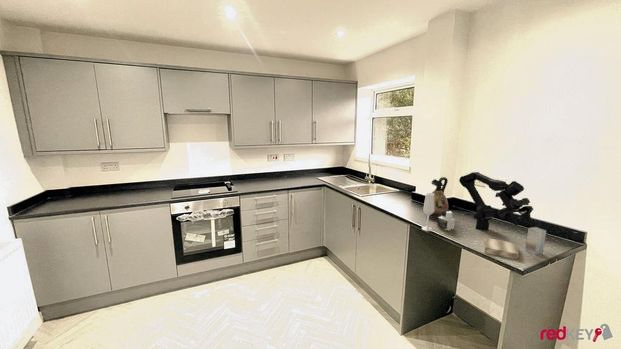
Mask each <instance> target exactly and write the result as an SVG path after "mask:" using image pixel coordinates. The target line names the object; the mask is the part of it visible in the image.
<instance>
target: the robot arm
mask: <svg viewBox="0 0 621 349" xmlns="http://www.w3.org/2000/svg"><path fill="white" fill-rule="evenodd" d="M458 181H459V184H460V185H461V186H462V187H463V188H464V189H466V190H467V192H468V193H469V195H470V197H471V199H472V200H473V202H474V204H475V206H476V213H475V214H474V215H473V218H474V220H476V224H475V230H480V231H481V230H482V231H488V230H489V228H490V221H492V219H493V218H494V217H495V216H494V215H495V212H494V209H493V207H492V206H491V205H487V204H486V203H485V201H484V200H483V198H482V197H481V195H480V193H479V191H478V190H477V187H476V186H475V185H476V184H475V183H476V181H478V182H480V183H483V184H485V185H487V187H488V188H490V190H492V191H494V192H496V193H495V197H494V198H499V199H500V200H501V202H502V204H501V205H502V206H504V207H502V208H501V209H499V210H497V215H498V217H501V218H503V219H505V220H507V221H508V222H510V223H511V224H513V225H515V226H516V227H517V226H519V223H518V222H517V219H516V218H515V217H514V213H515V214H516V213H518V214H520V217H522V219H523V220H524V221H525V222H526V223H527V224H528V225H532V224H533V223H532V222H533V221H532V217H531V213H532V212H533V211H534V207H533V206H531V205H529V204H530V203H531V201H530V199H529V198H528V197H524V198H522V199H517V198H514V197H516V196H517V195H519V194H520V193H522V192H523V191H524V190H525V187H524V186H523V185H522V184H521V183H519V182H517V181H515V180H514V181H513V180H512V181H511V182H510V183H509V184H508V183H507V182H506V181H504V180H500V179H494V178H492V177H490V176H487V175H485V174H482V173H480V172H479V171H474V172H473V171H472V172H470V173H469V174H465V175H461V176H460V177H459V180H458Z"/></svg>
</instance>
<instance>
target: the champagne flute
mask: <svg viewBox="0 0 621 349" xmlns="http://www.w3.org/2000/svg"><path fill="white" fill-rule="evenodd" d="M422 211H423V212H424V214H425V215H426V226H423V227H421V229H422V231H425V232H431V231H430V230H431V229H432V227H430V224H429V221H430V216H429V215H431V214H432V213H434V194H433V193H432V192H426V193H425V198H424V203H423V209H422Z"/></svg>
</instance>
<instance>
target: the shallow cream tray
mask: <svg viewBox="0 0 621 349" xmlns="http://www.w3.org/2000/svg"><path fill="white" fill-rule="evenodd" d="M483 244H484V245H483V247H484V249H483V250H484V253H486V254H491V255H495V256H500V257H505V258H509V259H512V260H519V251H518V247H517V245H516V243H515V242H510V241H505V240H499V239H494V238H489V237H484V239H483Z"/></svg>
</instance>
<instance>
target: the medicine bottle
mask: <svg viewBox="0 0 621 349" xmlns="http://www.w3.org/2000/svg"><path fill="white" fill-rule="evenodd" d="M455 222H456V219H455V218H453V212H452V211H451V210H449V209H448V210H443V211H442V217H438V218H437V225H436V226H437V228H438V227H439V229H441V230H443V229H444V231H446V230H448V231H451V229H452V230H454V229H455Z"/></svg>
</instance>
